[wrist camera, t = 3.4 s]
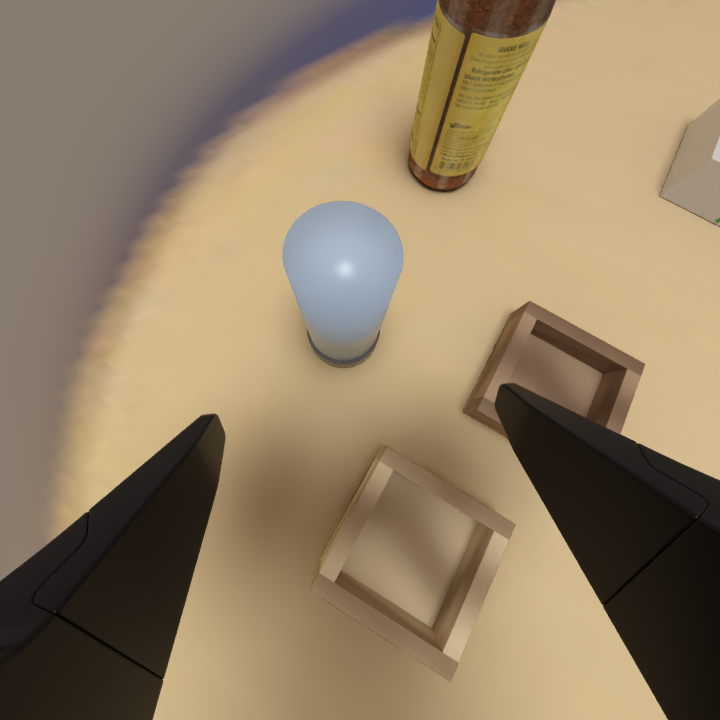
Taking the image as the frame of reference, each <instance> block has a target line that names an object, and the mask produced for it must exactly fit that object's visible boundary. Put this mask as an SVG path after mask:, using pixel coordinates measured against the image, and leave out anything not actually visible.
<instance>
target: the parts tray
mask: <svg viewBox="0 0 720 720" xmlns="http://www.w3.org/2000/svg"><path fill="white" fill-rule="evenodd" d="M660 196H661V197H663V198H665V199H667V200H669V201H671V202H673V203H675V204H676V205H678V206H680V207H682V208H684V209H686V210H688V211H690V212H692V213H694V214H696V215H698V216H700V217H702V218H704V219H706V220H708V221H710V222H712V223H714V224H716V225H718V226H720V222H719V223H717V222H716V221H715V220H717V219H719V218H720V99H719V100H717V101H716V102H715V103H714V104H713V105H712V106H710V107H709V108H708V109H707V110H706V111H705V112H704V113H702V114H701V115H700V116H699V117H698V118H697V119H696V120H694V121H693V122H692V123H691V124H690V125H689V126H688V127H687V129H686V132H685V134H684V137H683V139H682V142H681V144H680V147H679V149H678V152H677V154H676V157H675V159H674V162H673V164H672V167H671V169H670V172H669V174H668V177H667V179H666V182H665V184H664V187H663V189H662V191H661V194H660Z"/></svg>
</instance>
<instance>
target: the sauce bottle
mask: <svg viewBox="0 0 720 720" xmlns="http://www.w3.org/2000/svg"><path fill="white" fill-rule="evenodd" d="M555 1H556V0H437V5H436V10H435V15H434V21H433V26H432V31H431V36H430V41H429V46H428V51H427V56H426V62H425V67H424V72H423V77H422V82H421V87H420V93H419V97H418V102H417V107H416V112H415V117H414V122H413V128H412V132H411V137H410V154H409V155H410V156H409V165H410V169H411V170H412V172H413V173H414V175H415V176H416V177H417V178H418V179H419V180H420V181H421V182H422V183H423V184H425V185H426V186H429V187H431V188H434V189H443V190H450V189H455V188H457V187H461V186H462V185H463V184H465V183H466V182H467V181H468V180H469V179H470V178H471V177H472V176H473V174H474V173H475V171H476V169H477V167H478V165H479V164H480V162H481V161H482V159H483V157H484V154H485V152H486V150H487V148H488V146H489V144H490V142H491V140H492V138H493V135H494V133H495V131H496V129H497V127H498V125H499V123H500V121H501V118H502V116H503V114H504V112H505V110H506V108H507V105H508V103H509V101H510V99H511V97H512V95H513V93H514V91H515V89H516V87H517V84H518V82H519V80H520V78H521V76H522V74H523V72H524V70H525V68H526V65H527V63H528V61H529V59H530V57H531V55H532V53H533V50H534V48H535V46H536V44H537V42H538V40H539V38H540V36H541V33H542V31H543V29H544V27H545V25H546V23H547V21H548V18H549V16H550V14H551V12H552V9H553V7H554V4H555Z"/></svg>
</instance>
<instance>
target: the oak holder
mask: <svg viewBox="0 0 720 720" xmlns="http://www.w3.org/2000/svg"><path fill="white" fill-rule="evenodd" d="M514 527H515V523H513V522H511V521H510V520H508V519H506V518H505V517H503V516H501V515H500V514H498V513H496V512H495V511H493V510H491V509H490V508H488V507H486V506H485V505H483V504H481V503H480V502H478V501H476V500H475V499H473V498H472V497H470V496H468V495H467V494H465V493H463V492H462V491H460V490H458V489H457V488H455V487H453V486H452V485H450V484H448V483H447V482H445V481H443V480H442V479H440V478H438V477H437V476H435V475H433V474H432V473H430V472H428V471H427V470H425V469H423V468H422V467H420V466H418V465H417V464H415V463H413V462H412V461H410V460H408V459H407V458H405V457H403V456H402V455H400V454H398V453H397V452H395V451H393V450H392V449H390V448H388V447H387V446H385V445H383V444H382V446H381V448H380V450H379V452H378V453H377V455H376V457H375V459H374V461H373V463H372V464H371V466H370V468H369V470H368V472H367V474H366V475H365V477H364V479H363V481H362V483H361V485H360V486H359V488H358V490H357V492H356V494H355V496H354V497H353V499H352V501H351V503H350V505H349V507H348V508H347V510H346V512H345V514H344V516H343V518H342V519H341V521H340V523H339V525H338V527H337V529H336V531H335V532H334V534H333V536H332V538H331V540H330V542H329V543H328V545H327V547H326V549H325V551H324V553H323V554H322V556H321V558H320V560H319V562H318V564H317V565H316V567H315V569H314V572H313V577H312V582H311V587H310V591H311V592H313V593H314V594H316V595H317V596H319V597H320V598H322V599H323V600H325V601H327V602H328V603H330V604H331V605H333V606H334V607H336V608H337V609H339V610H340V611H342V612H343V613H345V614H347V615H348V616H350V617H351V618H353V619H354V620H356V621H357V622H359V623H360V624H362V625H363V626H365V627H367V628H368V629H370V630H371V631H373V632H374V633H376V634H377V635H379V636H380V637H382V638H384V639H385V640H387V641H388V642H390V643H391V644H393V645H394V646H396V647H397V648H399V649H400V650H402V651H404V652H405V653H407V654H408V655H410V656H411V657H413V658H414V659H416V660H417V661H419V662H420V663H422V664H424V665H425V666H427V667H428V668H430V669H431V670H433V671H434V672H436V673H437V674H439V675H440V676H442V677H444V678H445V679H447V680H448V681H450V682H451V680H452V677H453V675H454V673H455V670H456V668H457V665H458V663H459V660H460V658H461V656H462V653H463V651H464V648H465V646H466V643H467V641H468V639H469V636H470V634H471V631H472V629H473V626H474V624H475V622H476V619H477V617H478V614H479V612H480V609H481V607H482V605H483V602H484V600H485V597H486V595H487V592H488V590H489V588H490V585H491V583H492V580H493V578H494V575H495V573H496V570H497V568H498V566H499V563H500V561H501V558H502V556H503V553H504V551H505V549H506V546H507V544H508V541H509V539H510V536H511V534H512V532H513V529H514Z"/></svg>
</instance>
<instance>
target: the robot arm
mask: <svg viewBox="0 0 720 720" xmlns="http://www.w3.org/2000/svg"><path fill="white" fill-rule="evenodd" d="M494 406H495V410H496V412H497V415H498V417H499V419H500V422H501V424H502V426H503V428H504V431H505V433H506V435H507V437H508V440H509V442H510V444H511V446H512V448H513V450H514V452H515V454H516V456H517V458H518V459H519V461H520V463H521V465H522V466H523V468H524V470H525V472H526V473H527V475H528V477H529V479H530V480H531V482H532V484H533V485H534V487H535V489H536V491H537V492H538V494H539V496H540V498H541V499H542V501H543V503H544V505H545V506H546V508H547V510H548V512H549V513H550V515H551V517H552V519H553V520H554V522H555V524H556V525H557V527H558V529H559V531H560V532H561V534H562V536H563V538H564V539H565V541H566V543H567V545H568V546H569V548H570V550H571V552H572V553H573V555H574V557H575V559H576V560H577V562H578V564H579V565H580V567H581V569H582V571H583V572H584V574H585V576H586V578H587V579H588V581H589V583H590V585H591V586H592V588H593V590H594V592H595V593H596V595H597V597H598V599H599V600H600V602H601V604H602V605H604V606H603V608H604V609H605V611H606V613H607V615H608V616H609V618H610V620H611V622H612V623H613V625H614V627H615V628H616V630H617V632H618V634H619V635H620V637H621V639H622V641H623V642H624V644H625V646H626V648H627V649H628V651H629V653H630V655H631V656H632V658H633V660H634V661H635V663H636V665H637V667H638V668H639V670H640V672H641V674H642V675H643V677H644V679H645V681H646V682H647V684H648V686H649V688H650V689H651V691H652V693H653V694H654V696H655V698H656V700H657V701H658V703H659V705H660V707H661V708H662V710H663V712H664V714H665V715H666V717H667V719H668V720H720V480H718V479H715V478H713V477H711V476H708V475H706V474H704V473H702V472H699V471H697V470H695V469H693V468H690V467H688V466H686V465H684V464H681V463H679V462H677V461H675V460H673V459H671V458H668V457H666V456H664V455H662V454H660V453H658V452H656V451H654V450H652V449H650V448H648V447H645V446H643V445H641V444H639V443H638V444H637V443H636V442H635V441H633V440H631V439H629V438H627V437H625V436H623V435H621V434H619V433H617V432H615V431H612V430H610V429H608V428H606V427H604V426H602V425H600V424H598V423H596V422H594V421H592V420H590V419H588V418H586V417H584V416H582V415H580V414H578V413H575V412H573V411H571V410H569V409H567V408H565V407H563V406H561V405H559V404H557V403H555V402H553V401H551V400H549V399H547V398H545V397H543V396H540V395H538V394H536V393H534V392H532V391H530V390H528V389H526V388H524V387H522V386H520V385H518V384H516V383H503V384H501V385H500V386H499V388H498V392H497V395H496V399H495V404H494ZM224 445H225V432H224V429H223V427H222V424H221V422H220V419H219V417H218V415H217V414H205V415H201V416H200V417H199V418H197V419H196V420H195V421H194V422H193V423H192V424H190V425H189V426H188V427H187V428H186V429H184V430H183V431H182V432H181V433H180V434H178V435H177V436H176V437H175V438H174V439H173V440H171V441H170V442H169V443H168V444H167V445H165V446H164V447H163V448H162V449H161V450H160V451H158V452H157V453H156V454H155V455H154V456H152V457H151V458H150V459H149V460H148V461H146V462H145V463H144V464H143V465H142V466H141V467H139V468H138V469H137V470H136V471H135V472H133V473H132V474H131V475H130V476H129V477H128V478H126V479H125V480H124V481H123V482H122V483H120V484H119V485H118V486H117V487H116V488H115V489H113V490H112V491H111V492H110V493H109V494H107V495H106V496H105V497H104V498H103V499H101V500H100V501H99V502H98V503H97V504H96V505H94V506H93V507H92V508H91V509H90V510H89V512H86V513H85V514H84V515H82V516H81V517H80V518H79V519H78V520H76V521H75V522H74V523H73V524H72V525H71V526H69V527H68V528H67V529H66V530H64V531H63V532H62V533H61V534H60V535H58V536H57V537H56V538H55V539H53V540H52V541H51V542H50V543H49V544H47V545H46V546H45V547H44V548H42V549H41V550H40V551H39V552H37V553H36V554H35V555H34V556H32V557H31V558H30V559H28V560H27V561H26V562H24V563H23V564H22V565H21V566H20V567H18V568H17V569H15V570H14V571H13V572H11V573H10V574H9V575H8V576H6V577H5V578H4V579H2V580H1V581H0V720H153V716H154V713H155V709H156V706H157V702H158V698H159V695H160V691H161V688H162V684H163V680H162V679H163V678H164V676H165V673H166V669H167V666H168V662H169V658H170V655H171V651H172V648H173V644H174V641H175V637H176V634H177V630H178V626H179V623H180V619H181V616H182V612H183V609H184V605H185V602H186V598H187V594H188V591H189V587H190V584H191V580H192V577H193V573H194V570H195V566H196V562H197V559H198V555H199V552H200V548H201V545H202V541H203V538H204V534H205V530H206V527H207V523H208V520H209V516H210V513H211V509H212V506H213V502H214V498H215V495H216V491H217V487H218V482H219V476H220V470H221V464H222V458H223V451H224Z"/></svg>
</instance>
